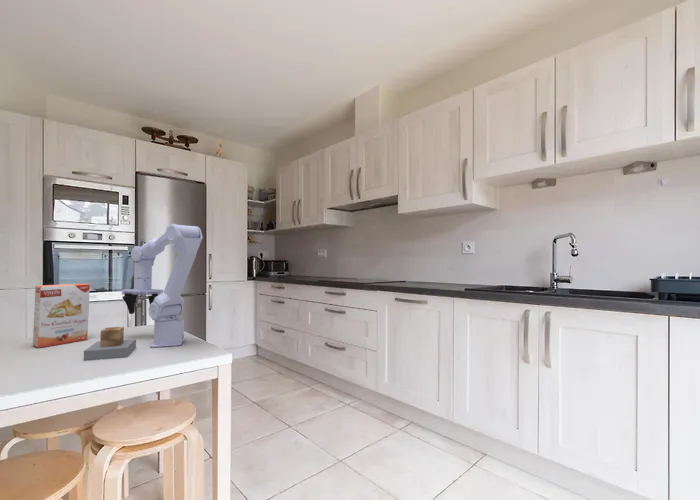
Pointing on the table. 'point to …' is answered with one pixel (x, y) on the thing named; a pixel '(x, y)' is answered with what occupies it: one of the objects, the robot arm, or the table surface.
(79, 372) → the table surface
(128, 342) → the gray block
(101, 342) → the walnut cube
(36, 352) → the table surface
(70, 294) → the cracker box
